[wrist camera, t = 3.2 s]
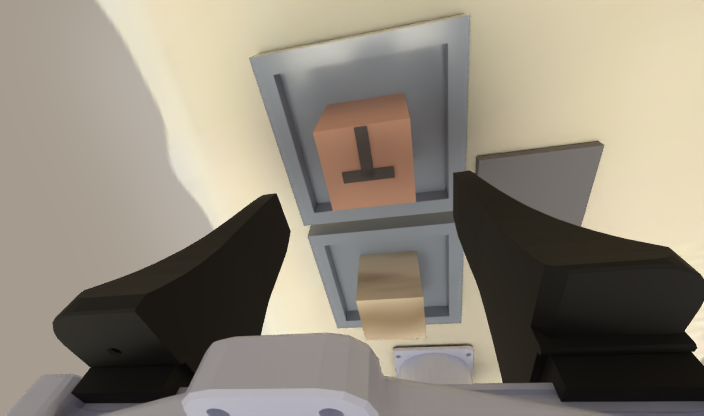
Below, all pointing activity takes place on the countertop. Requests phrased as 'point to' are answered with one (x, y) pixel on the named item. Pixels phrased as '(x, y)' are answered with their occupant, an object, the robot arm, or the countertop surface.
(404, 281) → the plain cube
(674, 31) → the countertop surface
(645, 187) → the countertop surface
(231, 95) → the countertop surface
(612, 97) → the countertop surface
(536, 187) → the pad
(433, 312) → the dish
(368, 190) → the letter cube
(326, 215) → the dish
